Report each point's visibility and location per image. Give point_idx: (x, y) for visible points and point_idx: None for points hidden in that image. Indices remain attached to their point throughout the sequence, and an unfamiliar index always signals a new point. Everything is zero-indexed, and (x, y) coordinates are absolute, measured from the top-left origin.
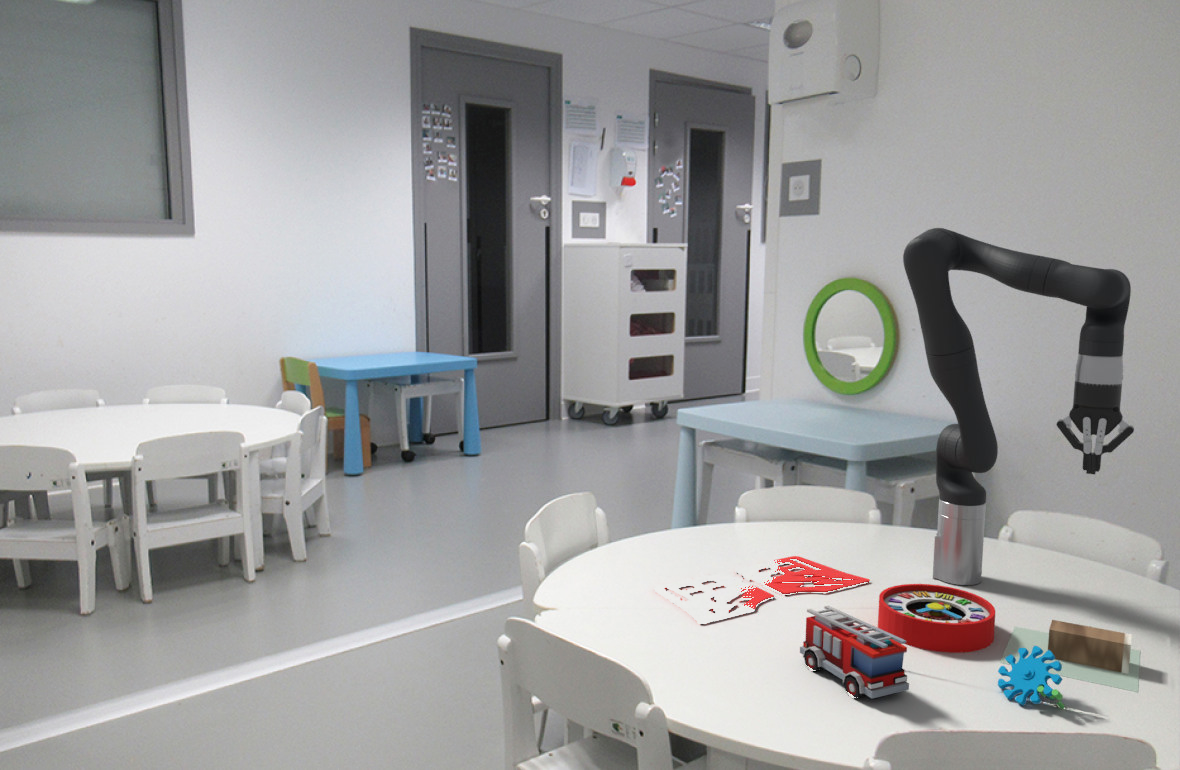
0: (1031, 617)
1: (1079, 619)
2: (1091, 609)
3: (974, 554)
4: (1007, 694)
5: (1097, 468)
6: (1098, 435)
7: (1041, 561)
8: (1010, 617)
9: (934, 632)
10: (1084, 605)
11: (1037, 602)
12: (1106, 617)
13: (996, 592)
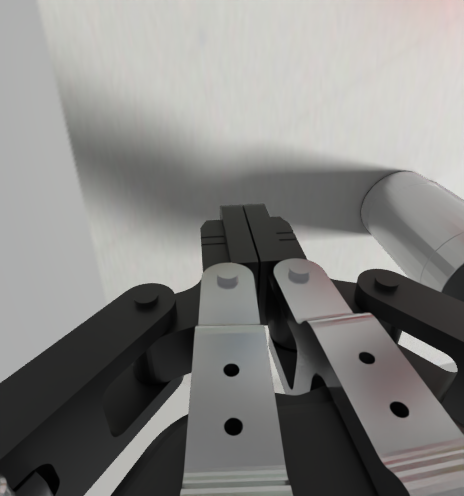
0: (282, 77)
1: (207, 116)
2: (195, 178)
3: (401, 208)
4: None
5: (213, 230)
6: (252, 373)
7: None
8: (317, 53)
9: None
10: (207, 191)
11: (275, 163)
12: (169, 153)
13: (338, 174)
